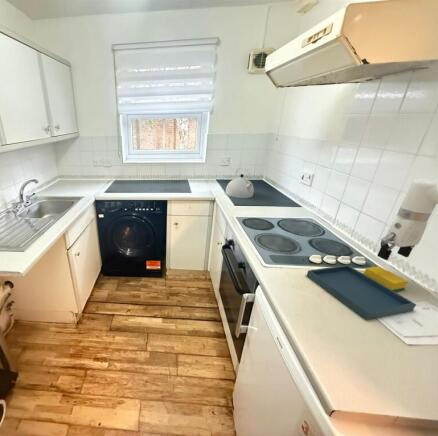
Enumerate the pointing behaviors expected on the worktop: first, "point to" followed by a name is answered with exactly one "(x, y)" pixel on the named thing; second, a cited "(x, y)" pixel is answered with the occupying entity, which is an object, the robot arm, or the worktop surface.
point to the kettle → (240, 187)
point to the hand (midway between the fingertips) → (392, 256)
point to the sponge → (386, 278)
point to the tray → (360, 292)
